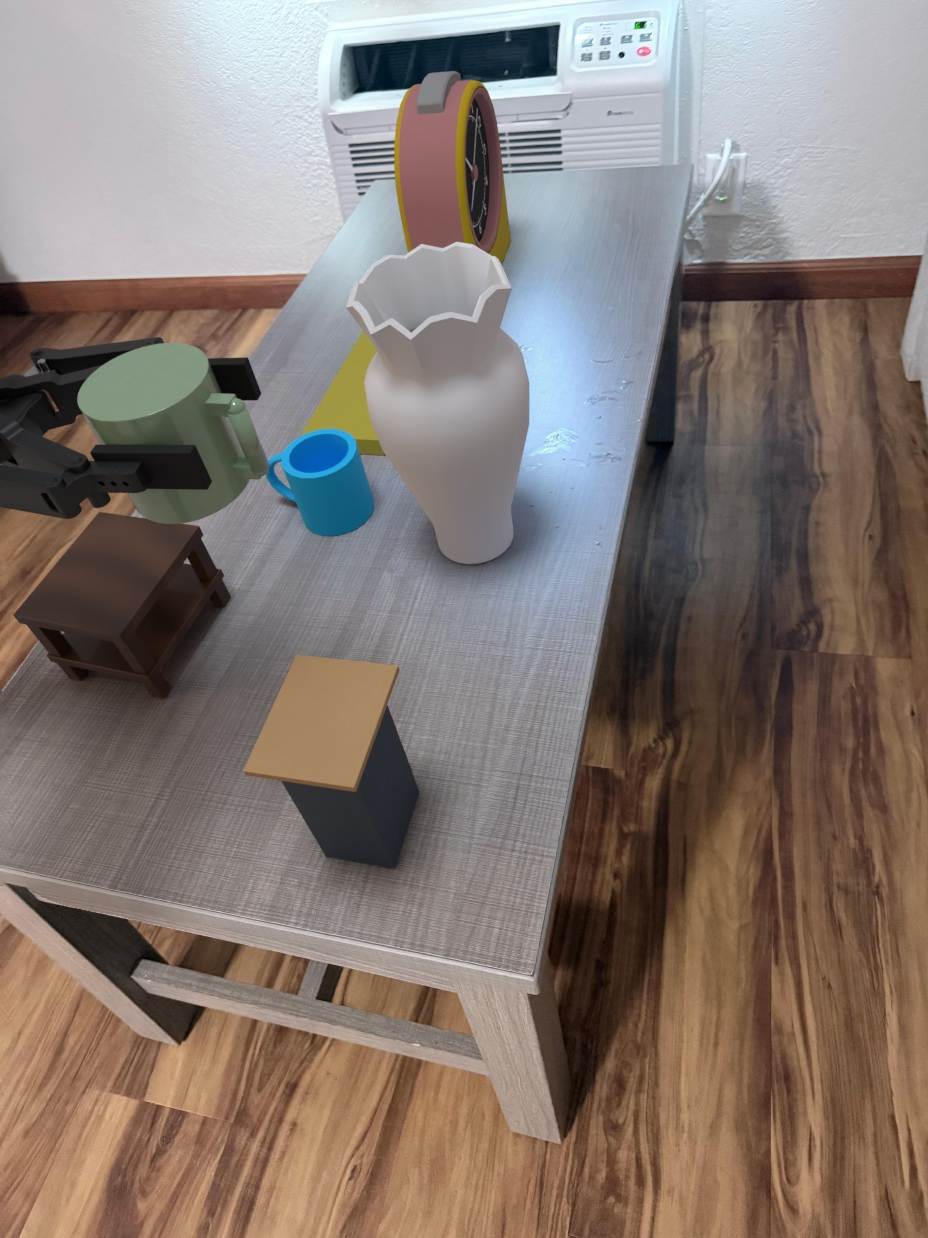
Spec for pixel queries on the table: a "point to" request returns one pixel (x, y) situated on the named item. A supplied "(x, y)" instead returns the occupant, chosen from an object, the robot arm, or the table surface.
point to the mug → (325, 481)
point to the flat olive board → (349, 400)
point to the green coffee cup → (175, 424)
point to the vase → (447, 389)
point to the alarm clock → (450, 166)
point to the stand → (340, 757)
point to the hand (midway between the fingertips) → (228, 421)
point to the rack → (123, 598)
